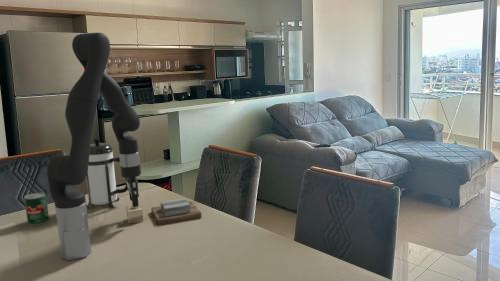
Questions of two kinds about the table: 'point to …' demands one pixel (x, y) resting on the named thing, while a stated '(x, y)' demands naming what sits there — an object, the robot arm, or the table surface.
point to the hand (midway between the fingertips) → (134, 203)
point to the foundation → (175, 211)
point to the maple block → (134, 214)
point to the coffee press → (102, 175)
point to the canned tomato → (36, 208)
